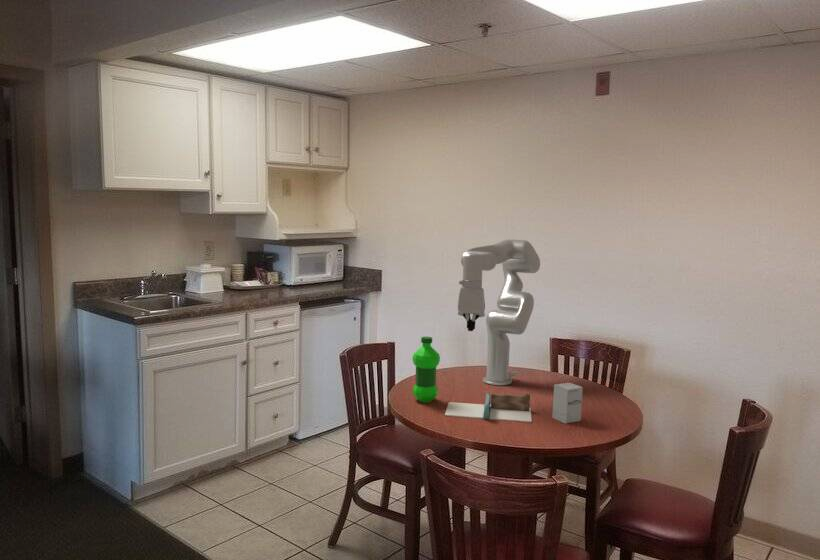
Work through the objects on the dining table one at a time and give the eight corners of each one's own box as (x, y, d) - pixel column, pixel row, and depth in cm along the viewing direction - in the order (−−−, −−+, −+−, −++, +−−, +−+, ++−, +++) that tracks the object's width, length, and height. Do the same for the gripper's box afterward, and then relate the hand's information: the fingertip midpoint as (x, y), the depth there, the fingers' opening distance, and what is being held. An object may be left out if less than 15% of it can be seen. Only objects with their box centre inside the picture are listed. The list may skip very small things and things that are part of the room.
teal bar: (485, 405, 233) (485, 393, 232) (490, 405, 233) (490, 393, 232) (483, 418, 219) (484, 405, 218) (488, 418, 218) (489, 405, 218)
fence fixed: (529, 409, 230) (530, 394, 230) (529, 411, 228) (530, 395, 228) (490, 406, 233) (491, 391, 232) (490, 408, 231) (491, 392, 230)
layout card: (530, 408, 232) (530, 407, 232) (531, 423, 217) (531, 421, 217) (449, 403, 237) (449, 401, 237) (444, 416, 222) (444, 415, 222)
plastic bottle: (406, 399, 241) (408, 336, 238) (427, 394, 247) (429, 333, 244) (422, 406, 233) (424, 341, 230) (443, 401, 239) (445, 338, 237)
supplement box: (565, 424, 216) (567, 389, 215) (551, 417, 223) (553, 384, 222) (581, 421, 220) (583, 387, 218) (567, 415, 226) (569, 381, 225)
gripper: (451, 284, 240) (450, 330, 242) (488, 286, 235) (487, 334, 237) (456, 282, 247) (455, 327, 249) (493, 284, 242) (491, 330, 244)
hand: (470, 330), depth 243 cm, fingers closed
